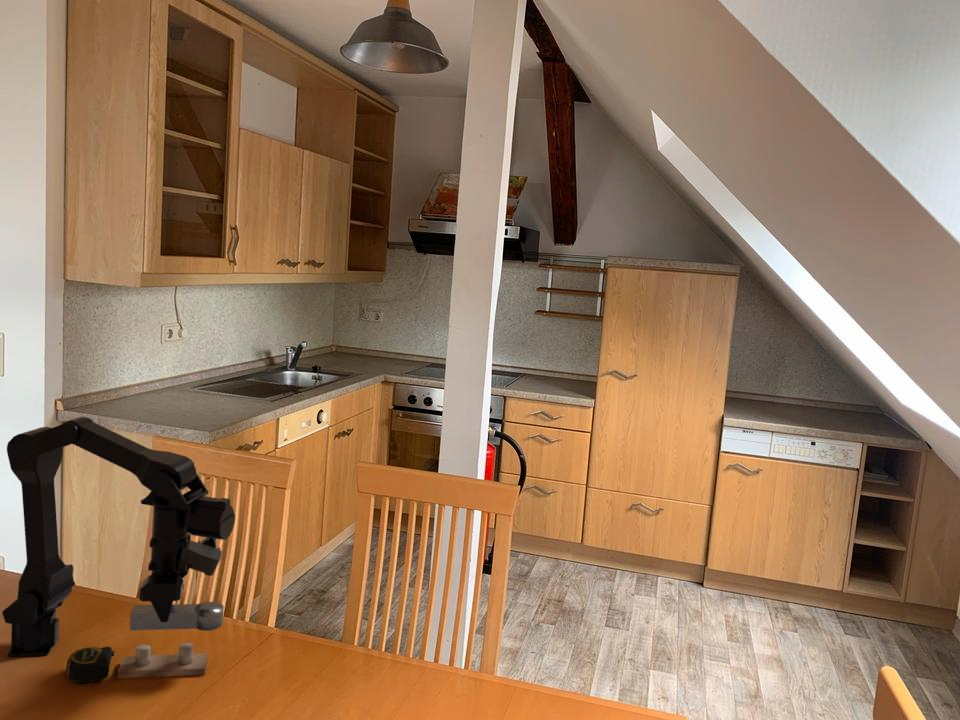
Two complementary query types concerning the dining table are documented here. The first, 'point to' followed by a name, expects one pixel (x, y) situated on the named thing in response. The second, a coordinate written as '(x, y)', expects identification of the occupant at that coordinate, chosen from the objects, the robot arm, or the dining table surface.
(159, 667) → the peg stand
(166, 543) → the robot arm
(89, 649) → the tape measure
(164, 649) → the dining table surface
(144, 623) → the grey bar with knob
